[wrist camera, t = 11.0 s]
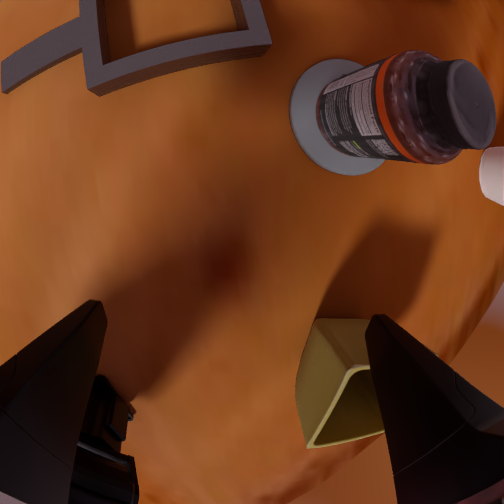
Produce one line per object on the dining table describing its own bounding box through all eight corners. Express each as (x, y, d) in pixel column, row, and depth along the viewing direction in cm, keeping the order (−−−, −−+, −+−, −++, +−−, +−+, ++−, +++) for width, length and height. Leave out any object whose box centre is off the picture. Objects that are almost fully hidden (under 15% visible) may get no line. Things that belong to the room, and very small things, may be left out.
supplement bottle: (382, 90, 18) (503, 72, 7) (378, 162, 20) (504, 185, 9) (313, 70, 16) (428, 14, 6) (308, 150, 18) (433, 157, 8)
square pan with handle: (12, 141, 14) (-6, 141, 12) (7, 27, 10) (-7, 18, 7) (262, 55, 16) (272, 43, 14) (230, -50, 12) (235, -67, 10)
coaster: (302, 184, 20) (307, 186, 19) (276, 64, 16) (279, 61, 16) (398, 165, 21) (404, 166, 20) (378, 62, 18) (383, 60, 17)
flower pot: (274, 377, 25) (305, 451, 17) (298, 297, 23) (351, 368, 14) (350, 371, 27) (392, 430, 19) (380, 300, 25) (441, 353, 17)
